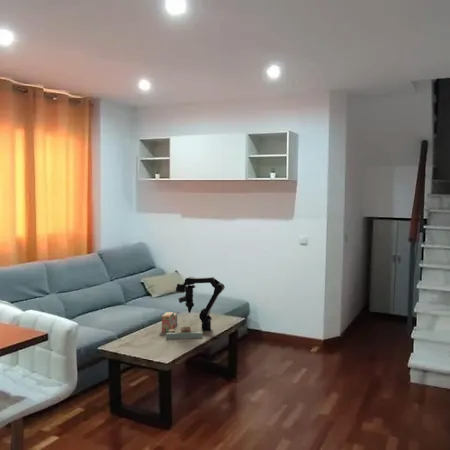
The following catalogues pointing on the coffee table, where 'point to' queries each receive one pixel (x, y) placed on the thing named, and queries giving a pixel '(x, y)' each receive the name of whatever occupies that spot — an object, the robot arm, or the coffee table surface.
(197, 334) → the board
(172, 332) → the oak cube
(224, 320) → the coffee table surface
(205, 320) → the robot arm
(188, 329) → the walnut brick
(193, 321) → the coffee table surface
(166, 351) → the coffee table surface
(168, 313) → the stack of blocks
